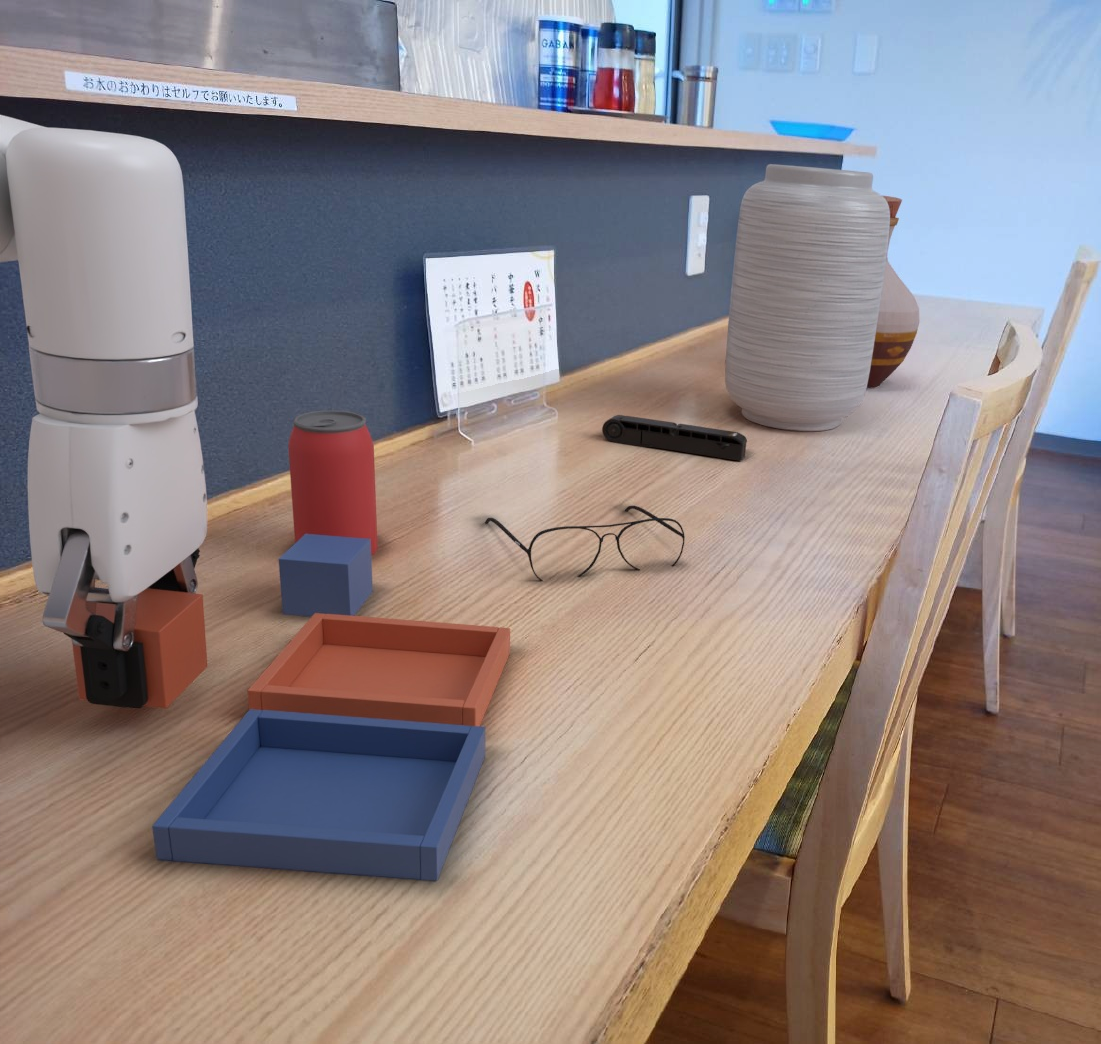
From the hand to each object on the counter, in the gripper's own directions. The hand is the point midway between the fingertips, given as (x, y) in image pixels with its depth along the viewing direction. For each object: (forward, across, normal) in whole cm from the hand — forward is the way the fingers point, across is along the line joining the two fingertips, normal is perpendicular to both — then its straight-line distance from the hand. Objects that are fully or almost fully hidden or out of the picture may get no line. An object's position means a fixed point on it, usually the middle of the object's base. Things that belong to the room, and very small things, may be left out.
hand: (145, 675), depth 59 cm
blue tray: (+2, +8, +14) cm, 16 cm away
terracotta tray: (+2, -5, +13) cm, 14 cm away
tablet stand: (+2, -66, +29) cm, 72 cm away
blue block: (+3, -16, +5) cm, 17 cm away
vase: (+2, -86, +45) cm, 97 cm away
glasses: (+2, -32, +22) cm, 39 cm away
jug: (+1, -115, +58) cm, 129 cm away
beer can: (+3, -26, +2) cm, 26 cm away
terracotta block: (+1, 0, 0) cm, 1 cm away
